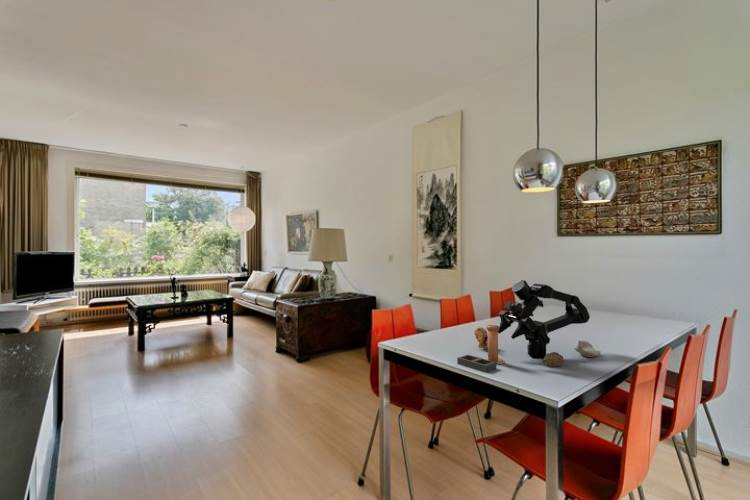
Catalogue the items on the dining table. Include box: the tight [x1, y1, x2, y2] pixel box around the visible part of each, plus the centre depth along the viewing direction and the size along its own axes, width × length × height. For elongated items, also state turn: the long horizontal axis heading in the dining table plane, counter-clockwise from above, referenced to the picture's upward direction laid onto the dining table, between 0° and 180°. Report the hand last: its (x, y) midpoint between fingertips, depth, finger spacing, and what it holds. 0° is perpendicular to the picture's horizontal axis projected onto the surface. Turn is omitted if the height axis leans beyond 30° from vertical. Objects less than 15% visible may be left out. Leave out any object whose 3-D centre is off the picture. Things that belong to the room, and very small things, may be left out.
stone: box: [542, 351, 564, 368], centre depth 147 cm, size 14×7×5 cm, turn 160°
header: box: [456, 354, 497, 373], centre depth 144 cm, size 7×13×2 cm, turn 39°
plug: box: [485, 324, 500, 362], centre depth 149 cm, size 5×5×14 cm
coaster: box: [484, 357, 505, 366], centre depth 150 cm, size 8×8×1 cm
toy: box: [474, 326, 488, 350], centre depth 168 cm, size 12×7×14 cm
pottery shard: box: [573, 340, 601, 358], centre depth 157 cm, size 10×11×5 cm
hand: (504, 335), depth 151 cm, fingers open, 9 cm apart
